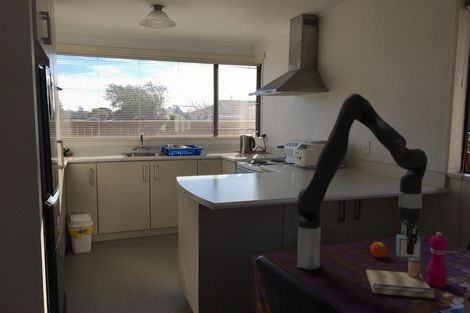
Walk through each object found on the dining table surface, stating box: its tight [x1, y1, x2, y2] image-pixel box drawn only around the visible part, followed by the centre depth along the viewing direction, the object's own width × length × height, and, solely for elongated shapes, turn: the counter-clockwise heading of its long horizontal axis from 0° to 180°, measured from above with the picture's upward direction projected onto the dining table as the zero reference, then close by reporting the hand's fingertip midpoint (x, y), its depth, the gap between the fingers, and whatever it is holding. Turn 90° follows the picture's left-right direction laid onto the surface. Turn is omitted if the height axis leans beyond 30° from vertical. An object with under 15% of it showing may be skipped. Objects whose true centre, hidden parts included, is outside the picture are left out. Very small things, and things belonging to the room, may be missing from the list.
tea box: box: [395, 233, 422, 260], centre depth 136 cm, size 5×7×7 cm
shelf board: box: [366, 269, 436, 299], centre depth 142 cm, size 20×18×3 cm
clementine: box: [370, 241, 388, 258], centre depth 171 cm, size 8×7×7 cm
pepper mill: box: [426, 231, 449, 288], centre depth 142 cm, size 7×7×20 cm
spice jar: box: [407, 258, 421, 278], centre depth 146 cm, size 4×4×7 cm
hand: (408, 251), depth 136 cm, fingers closed on tea box, 5 cm apart
